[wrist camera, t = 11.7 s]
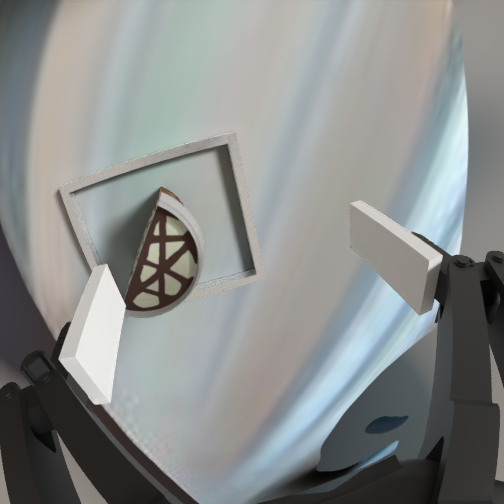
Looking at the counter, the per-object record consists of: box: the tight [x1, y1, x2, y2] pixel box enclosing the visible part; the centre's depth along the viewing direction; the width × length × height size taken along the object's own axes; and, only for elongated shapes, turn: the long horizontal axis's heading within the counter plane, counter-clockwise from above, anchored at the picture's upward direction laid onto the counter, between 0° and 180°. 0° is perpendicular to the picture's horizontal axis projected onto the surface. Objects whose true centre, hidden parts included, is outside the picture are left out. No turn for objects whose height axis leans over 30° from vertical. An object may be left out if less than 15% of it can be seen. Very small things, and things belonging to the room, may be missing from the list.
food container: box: [123, 187, 205, 318], centre depth 30 cm, size 12×6×10 cm, turn 153°
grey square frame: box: [59, 131, 266, 317], centre depth 34 cm, size 18×20×2 cm
